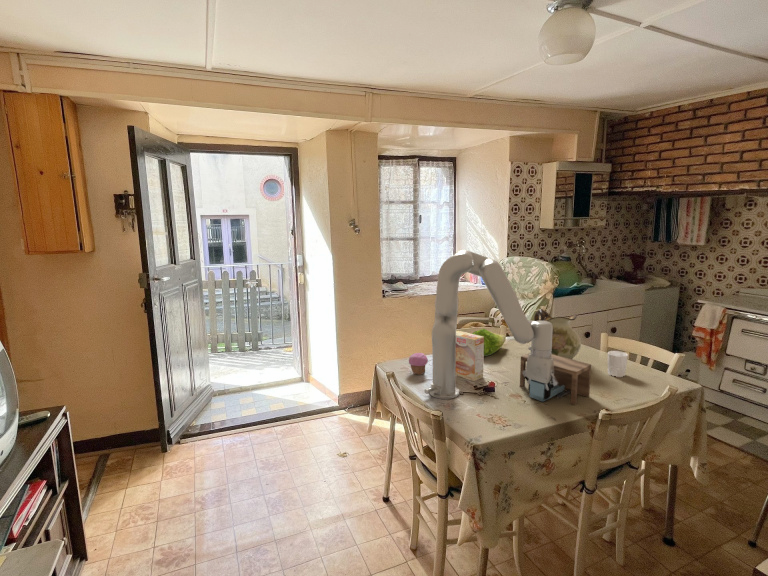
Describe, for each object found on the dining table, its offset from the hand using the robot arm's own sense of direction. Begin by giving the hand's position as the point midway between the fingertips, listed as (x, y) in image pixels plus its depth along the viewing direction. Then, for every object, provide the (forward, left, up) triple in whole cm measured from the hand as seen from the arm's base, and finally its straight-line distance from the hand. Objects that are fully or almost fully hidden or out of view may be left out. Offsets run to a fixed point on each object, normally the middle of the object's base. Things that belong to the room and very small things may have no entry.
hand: (539, 395), depth 166 cm
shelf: (+11, 0, -2) cm, 11 cm away
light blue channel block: (+6, 0, -1) cm, 6 cm away
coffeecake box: (-2, +36, -2) cm, 36 cm away
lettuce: (+34, +49, -2) cm, 59 cm away
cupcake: (-17, +52, -2) cm, 55 cm away
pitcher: (+45, +19, -2) cm, 49 cm away
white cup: (+49, -9, -2) cm, 50 cm away
